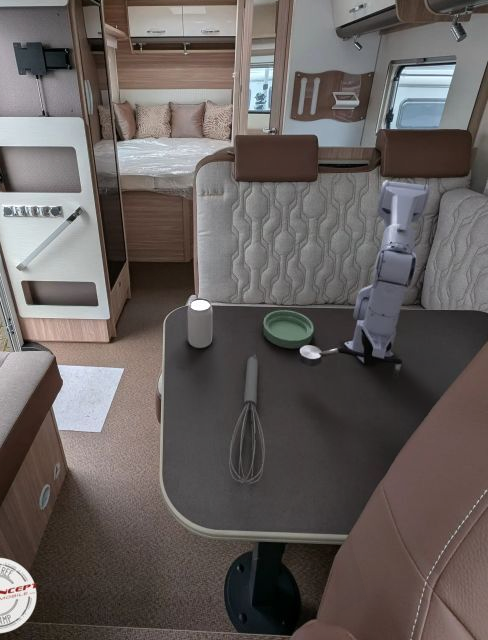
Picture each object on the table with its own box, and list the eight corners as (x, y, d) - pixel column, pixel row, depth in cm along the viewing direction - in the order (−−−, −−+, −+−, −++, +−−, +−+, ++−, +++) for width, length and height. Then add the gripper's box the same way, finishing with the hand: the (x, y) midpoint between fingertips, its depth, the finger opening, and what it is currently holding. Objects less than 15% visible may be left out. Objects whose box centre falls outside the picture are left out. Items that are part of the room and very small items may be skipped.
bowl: (295, 315, 109) (296, 306, 108) (322, 343, 98) (323, 334, 96) (254, 324, 105) (255, 315, 104) (277, 355, 94) (278, 345, 92)
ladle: (297, 363, 81) (299, 346, 79) (300, 350, 85) (302, 334, 83) (399, 385, 74) (403, 367, 72) (397, 369, 78) (401, 352, 76)
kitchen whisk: (264, 359, 92) (266, 340, 89) (262, 497, 62) (264, 474, 59) (240, 357, 93) (241, 337, 90) (226, 491, 63) (227, 469, 60)
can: (187, 333, 101) (187, 297, 95) (211, 332, 101) (211, 296, 96) (188, 349, 95) (187, 311, 90) (213, 348, 96) (213, 310, 90)
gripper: (361, 286, 78) (350, 336, 84) (361, 325, 66) (348, 380, 72) (397, 293, 76) (382, 343, 82) (404, 334, 64) (386, 390, 70)
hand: (369, 361), depth 77 cm, fingers closed on ladle
